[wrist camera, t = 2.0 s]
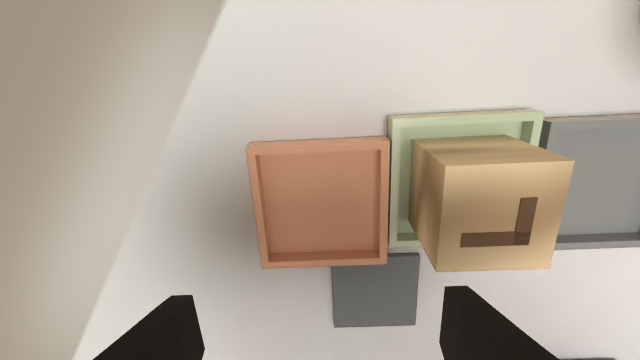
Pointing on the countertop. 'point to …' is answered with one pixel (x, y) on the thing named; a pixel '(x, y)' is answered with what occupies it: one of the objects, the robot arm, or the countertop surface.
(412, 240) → the sage dish
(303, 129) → the countertop surface
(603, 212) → the charcoal dish
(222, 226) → the countertop surface
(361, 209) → the terracotta dish
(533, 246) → the letter cube
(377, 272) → the slate mat
